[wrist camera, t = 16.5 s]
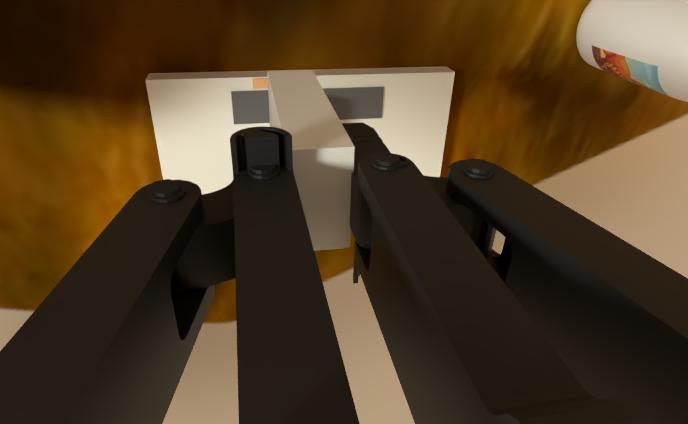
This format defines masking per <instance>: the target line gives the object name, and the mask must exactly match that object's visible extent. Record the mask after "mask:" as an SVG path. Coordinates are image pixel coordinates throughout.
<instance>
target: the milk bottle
mask: <svg viewBox="0 0 688 424" xmlns="http://www.w3.org/2000/svg"><path fill="white" fill-rule="evenodd" d="M576 43H577V48H578V50H579V53H580V55H581V57H582V58H583V59H584V61H586V62H587V63H588V64H590V65H592V66H594V67H596V68H598V69H600V70H603V71H605V72H608V73H610V74H613V75H615V76H618V77H620V78H623V79H625V80H628V81H630V82H633V83H635V84H638V85H640V86H643V87H645V88H648V89H650V90H653V91H656V92H658V93H661V94H664V95H666V96H669V97H672V98H675V99H678V100H681V101H685V102H688V0H591V1H590V2H589V4H588V5H587V6H586V8H585V9H584V11H583V13H582V15H581V17H580V20H579V22H578V26H577V31H576Z"/></svg>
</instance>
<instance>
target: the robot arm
mask: <svg viewBox="0 0 688 424" xmlns="http://www.w3.org/2000/svg"><path fill="white" fill-rule="evenodd" d="M267 76H268V96H269V115H270V127H261V126H259V127H251V128H246V129H241V130H239V131H237V132H235V133H234V134H232V136H231V138H230V147H231V157H232V167H233V181H232V182H231V183H230V184H229V185H228V186H226V187H225V188H222V189H220V190H218V191H215V192H211V193H207V194H203V195H202V193H201V189H200V188H199V186H198V185H197V184H195V183H192V182H190V181H185V180H171V179H165V180H162V181H161V180H159V181H156V182H153V183H152V184H149V185H147V186H144V187H142V188H141V189H140V190H139V191H137V192H136V193H135V194H134V195H133V196H132V198H131V199H130V200H129V201H128V202H127V203H126V205H125V206H124V207H123V208H122V209H121V211H120V212H119V213H118V214H117V215H116V216H115V218H114V219H113V220H112V221H111V222H110V223H109V225H108V226H107V227H106V228H105V229H104V230H103V232H102V233H101V234H100V235H99V236H98V237H97V239H96V240H95V241H94V242H93V243H92V245H91V246H90V247H89V248H88V249H87V250H86V252H85V253H84V254H83V255H82V256H81V257H80V259H79V260H78V261H77V262H76V263H75V264H74V266H73V267H72V268H71V269H70V270H69V272H68V273H67V274H66V275H65V276H64V277H63V279H62V280H61V281H60V282H59V283H58V284H57V286H56V287H55V288H54V289H53V290H52V291H51V293H50V294H49V295H48V296H47V297H46V299H45V300H44V301H43V302H42V303H41V304H40V306H39V307H38V308H37V309H36V310H35V311H34V313H33V314H32V315H31V316H30V317H29V318H28V320H27V321H26V322H25V323H24V324H23V326H22V327H21V328H20V329H19V330H18V331H17V333H16V334H15V335H14V336H13V337H12V339H11V340H10V341H9V342H8V343H7V344H6V346H5V347H4V348H3V349H2V350H1V351H0V424H162V423H163V420H164V417H165V415H166V413H167V410H168V408H169V405H170V403H171V400H172V398H173V395H174V393H175V390H176V388H177V386H178V383H179V381H180V378H181V376H182V373H183V371H184V368H185V366H186V363H187V361H188V358H189V356H190V354H191V351H192V349H193V346H194V344H195V341H196V339H197V336H198V334H199V331H200V329H201V326H202V324H203V322H204V319H205V317H206V314H207V312H208V309H209V307H210V304H211V302H212V299H213V297H214V290H215V288H214V285H215V284H218V283H221V282H224V281H228V280H231V279H234V278H236V315H237V357H238V399H239V424H359V421H358V417H357V413H356V409H355V405H354V402H353V398H352V394H351V390H350V386H349V383H348V379H347V375H346V371H345V367H344V363H343V360H342V356H341V352H340V348H339V345H338V341H337V337H336V333H335V329H334V325H333V322H332V318H331V314H330V310H329V306H328V302H327V299H326V295H325V291H324V287H323V283H322V279H321V276H320V272H319V268H318V264H317V260H316V257H315V253H314V251H317V250H328V249H339V248H350V242H351V230H352V232H353V235H354V237H355V253H354V273H353V283H358V276H359V275H360V274H361V277H362V280H363V282H364V285H365V288H366V291H367V293H368V296H369V299H370V302H371V304H372V307H373V309H374V312H375V315H376V318H377V321H378V323H379V326H380V329H381V331H382V334H383V337H384V340H385V342H386V345H387V348H388V351H389V353H390V356H391V359H392V361H393V364H394V367H395V370H396V372H397V375H398V378H399V381H400V383H401V386H402V389H403V391H404V394H405V397H406V400H407V402H408V405H409V408H410V411H411V414H412V416H413V419H414V422H415V424H688V279H687V278H686V277H684V276H682V275H681V274H679V273H677V272H676V271H674V270H672V269H671V268H669V267H667V266H666V265H664V264H662V263H661V262H659V261H657V260H656V259H653V258H652V257H651V256H649V255H647V254H645V253H644V252H642V251H641V250H639V249H637V248H636V247H634V246H632V245H630V244H629V243H627V242H625V241H624V240H622V239H620V238H619V237H617V236H615V235H614V234H612V233H610V232H609V231H607V230H605V229H604V228H602V227H600V226H599V225H597V224H595V223H594V222H592V221H590V220H588V219H587V218H585V217H584V216H582V215H580V214H579V213H577V212H575V211H574V210H572V209H570V208H569V207H567V206H565V205H564V204H562V203H560V202H559V201H557V200H555V199H554V198H552V197H550V196H549V195H547V194H545V193H543V192H542V191H540V190H538V189H537V188H535V187H533V186H532V185H530V184H528V183H527V182H525V181H523V180H522V179H520V178H518V177H517V176H515V175H513V174H512V173H510V172H508V171H507V170H505V169H503V168H502V167H500V166H497V165H495V164H493V163H490V162H485V161H484V160H481V159H477V160H476V159H468V160H460V161H457V162H454V163H453V164H452V165H451V166H450V167H449V173H448V178H442V177H431V176H424V175H423V174H422V173H421V172H420V170H419V169H418V168H417V166H416V165H415V164H414V162H412V161H411V160H410V159H409V158H407V157H405V156H401V155H398V154H392V153H391V152H390V151H389V150H388V148H387V147H386V145H385V144H384V143H383V141H382V139H381V138H380V137H379V135H378V134H377V132H376V131H375V129H374V128H372V127H370V126H368V125H367V124H365V123H363V122H361V123H341V121H340V119H339V118H338V116H337V114H336V112H335V110H334V109H333V107H332V105H331V103H330V101H329V100H328V98H327V96H326V94H325V92H324V90H323V89H322V87H321V85H320V83H319V81H318V80H317V78H316V76H315V74H314V72H313V71H312V70H291V71H267ZM496 230H498V231H499V232H500V233H502V234H503V235H504V236H505V237H506V238H505V242H504V246H503V250H502V253H501V255H500V254H498V253H497V252H495V251H494V250H492V246H493V241H494V237H495V233H496Z"/></svg>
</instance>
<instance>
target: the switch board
mask: <svg viewBox="0 0 688 424" xmlns="http://www.w3.org/2000/svg"><path fill="white" fill-rule="evenodd" d="M310 70H312V71H313V72H314V74H315V76H316V78H317V80H318V81H319V83H320V85H321V87H322V89H323V90H324V92H325V94H326V96H327V98H328V100H329V101H330V103H331V105H332V107H333V109H334V110H335V112H336V114H337V116H338V118H339V119H340V121H341V123H361V122H363V123H365V124H367V125H368V126H370V127H372V128H374V129H375V131H376V132H377V134H378V135H379V137H380V138H381V139H382V141H383V143H384V144H385V145H386V147H387V148H388V150H389V151H390V152H391V153H392V154H398V155H401V156H405V157H407V158H409V159H410V160H411V161H412V162H414V164H415V165H416V166H417V168H418V169H419V170H420V172H421V173H422V174H423V175H424V176H431V177H440V173H441V166H442V159H443V152H444V145H445V138H446V131H447V124H448V117H449V110H450V103H451V96H452V90H453V83H454V76H455V72H454V71H453V70H451V69H450V68H448V67H447V66H439V67H396V68H353V69H310ZM267 71H291V70H267ZM267 71H224V72H181V73H149V74H148V76H147V78H146V80H145V81H146V87H147V92H148V98H149V103H150V109H151V114H152V120H153V126H154V131H155V137H156V142H157V148H158V153H159V159H160V165H161V170H162V176H163V180H165V179H171V180H185V181H190V182H192V183H195V184H197V185H198V186H199V188H200V189H201V193H202V195H203V194H207V193H211V192H215V191H218V190H220V189H222V188H225V187H226V186H228V185H229V184H230V183H231V182H232V181H233V167H232V157H231V147H230V138H231V136H232V134H234V133H235V132H237V131H239V130H241V129H246V128H251V127H259V126H261V127H270V115H269V96H268V76H267Z"/></svg>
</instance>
